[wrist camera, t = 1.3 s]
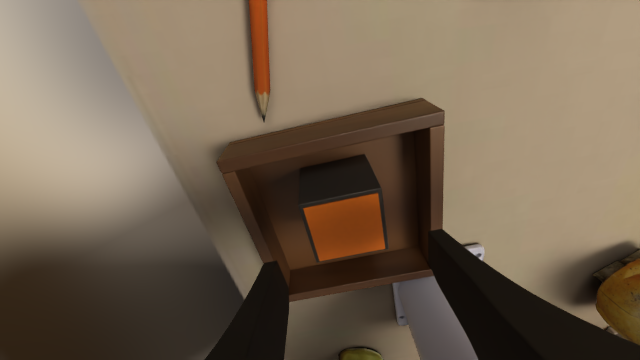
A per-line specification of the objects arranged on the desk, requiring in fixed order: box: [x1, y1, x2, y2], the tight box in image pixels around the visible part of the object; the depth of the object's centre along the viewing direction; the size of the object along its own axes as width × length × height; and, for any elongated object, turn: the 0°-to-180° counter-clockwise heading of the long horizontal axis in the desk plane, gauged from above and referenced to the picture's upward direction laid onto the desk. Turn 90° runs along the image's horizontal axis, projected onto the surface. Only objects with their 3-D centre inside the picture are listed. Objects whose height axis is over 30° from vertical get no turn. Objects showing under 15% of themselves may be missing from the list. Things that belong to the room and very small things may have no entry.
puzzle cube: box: [298, 154, 389, 263], centre depth 17 cm, size 4×4×4 cm
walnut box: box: [217, 98, 444, 302], centre depth 18 cm, size 13×13×3 cm
